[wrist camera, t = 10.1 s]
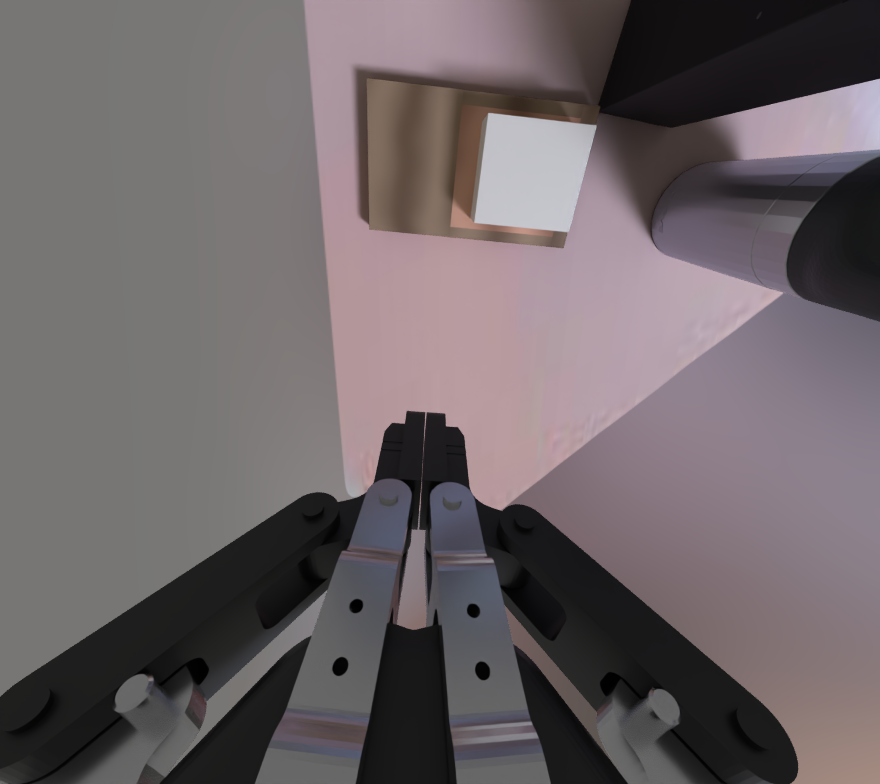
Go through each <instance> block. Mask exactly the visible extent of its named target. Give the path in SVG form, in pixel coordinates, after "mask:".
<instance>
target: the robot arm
mask: <svg viewBox="0 0 880 784" xmlns="http://www.w3.org/2000/svg"><path fill="white" fill-rule="evenodd" d="M651 230H652V238H653V240H654V243H655V245H656V246H657V248H658V249H659V250H660V251H661V252H662V253H664V254H665V255H667V256H670V257H673V258H676V259H679V260H682V261H685V262H688V263H691V264H694V265H697V266H700V267H704V268H707V269H710V270H713V271H716V272H719V273H722V274H726V275H729V276H732V277H735V278H738V279H741V280H744V281H748V282H751V283H754V284H757V285H760V286H763V287H766V288H770V289H773V290H777V291H780V292H783V293H786V294H789V295H792V296H796V297H799V298H802V299H805V300H808V301H812V302H815V303H818V304H821V305H825V306H828V307H832V308H836V309H839V310H842V311H846V312H850V313H853V314H857V315H860V316H863V317H866V318H869V319H873V320H876V321H879V322H880V150H869V151H856V152H846V153H833V154H819V155H806V156H793V157H779V158H766V159H752V160H736V161H723V162H712V163H704V164H701V165H698V166H695V167H693V168H691V169H689V170H688V171H686V172H684V173H683V174H681V175H680V176H679V177H678V178H677V179H675V180H674V181H673V182H672V183H671V184H670V186H669V187H668V188H667V189H666V190H665V192H664V193H663V195H662V196H661V198H660V199H659V202H658V204H657V206H656V208H655V211H654V214H653V218H652V226H651ZM424 427H425V412H414V411H407V413H406V420H405V424H400V423H392V424H391V425H390V426H389V427H388V428H387V429H386V430H385V433H384V438H383V443H382V447H381V452H380V456H379V461H378V466H377V470H376V475H375V480H374V483H373V484H372V485H371V486H370V487H369V489H368V490H367V492H366V493H365V494H363V495H361V496H360V497H357V498H354V499H350V500H346V501H341V502H337V500H336V499H335V498H334V497H333V496H331V495H329V494H326V493H320V492H316V493H310V494H307V495H305V496H302V497H301V498H299V499H297V500H296V501H294V502H293V503H291V504H290V505H288V506H287V507H285V508H284V509H282V510H280V511H279V512H277V513H276V514H275V515H273V516H271V517H270V518H268V519H267V520H265V521H264V522H262V523H261V524H259V525H258V526H256V527H255V528H253V529H251V530H250V531H248V532H247V533H245V534H244V535H242V536H241V537H239V538H238V539H236V540H235V541H233V542H232V543H230V544H228V545H227V546H225V547H224V548H222V549H221V550H219V551H218V552H216V553H215V554H214V555H212V556H210V557H209V558H207V559H206V560H204V561H202V562H201V563H199V564H198V565H196V566H195V567H193V568H192V569H190V570H189V571H187V572H186V573H184V574H183V575H181V576H179V577H178V578H176V579H175V580H173V581H172V582H171V583H169V584H167V585H166V586H164V587H163V588H161V589H160V590H158V591H157V592H155V593H153V594H152V595H150V596H149V597H147V598H146V599H144V600H143V601H141V602H140V603H138V604H137V605H135V606H134V607H132V608H131V609H129V610H127V611H126V612H124V613H123V614H122V615H120V616H118V617H117V618H115V619H114V620H112V621H111V622H109V623H108V624H106V625H105V626H103V627H101V628H100V629H98V630H97V631H95V632H94V633H92V634H91V635H89V636H88V637H86V638H85V639H83V640H82V641H80V642H79V643H77V644H75V645H74V646H72V647H71V648H69V649H68V650H66V651H65V652H63V653H62V654H60V655H59V656H57V657H56V658H54V659H52V660H51V661H49V662H48V663H46V664H45V665H43V666H42V667H40V668H39V669H37V670H36V671H34V672H33V673H31V674H30V675H28V676H26V677H25V678H24V679H22V680H21V681H19V682H18V683H16V684H15V685H14V686H12V687H11V688H10V689H9V690H7V691H6V692H5V693H4V694H3V695H2V696H1V697H0V784H790V783H792V782H793V781H794V780H795V778H796V777H797V773H798V761H797V756H796V753H795V750H794V747H793V745H792V743H791V741H790V738H789V737H788V735H787V733H786V732H785V730H784V728H783V727H782V726H781V724H780V723H779V721H778V720H777V719H776V718H775V716H774V715H773V714H772V713H771V712H770V711H769V710H768V709H767V708H766V707H765V706H764V705H763V704H762V703H761V702H760V701H759V700H758V699H756V698H755V697H754V696H753V695H752V694H751V693H749V692H748V691H747V690H746V689H745V688H744V687H742V686H741V685H740V684H739V683H738V682H737V681H735V680H734V679H733V678H732V677H731V676H730V675H728V674H727V673H726V672H725V671H724V670H722V669H721V668H720V667H719V666H718V665H717V664H715V663H714V662H713V661H712V660H711V659H710V658H708V657H707V656H706V655H705V654H703V652H701V651H700V650H699V649H698V648H697V647H696V646H694V645H693V644H692V643H691V642H690V641H688V640H687V639H686V638H685V637H684V636H683V635H681V634H680V633H679V632H678V631H677V630H676V629H674V628H673V627H672V626H671V625H670V624H668V623H667V622H666V621H665V620H664V619H663V618H662V617H660V616H659V615H658V614H657V613H656V612H654V611H653V610H652V609H651V608H650V607H649V606H647V605H646V604H645V603H644V602H643V601H642V600H640V599H639V598H638V597H637V596H636V595H635V594H633V593H632V592H631V591H630V590H629V589H627V588H626V587H625V586H624V585H623V584H622V583H620V582H619V581H618V580H617V579H616V578H615V577H613V576H612V575H611V574H610V573H609V572H608V571H606V570H605V569H604V568H603V567H602V566H601V565H599V564H598V563H597V562H596V561H595V560H594V559H592V558H591V557H590V556H589V555H588V554H586V553H585V552H584V551H583V550H582V549H581V548H579V547H578V546H577V545H576V544H575V543H573V542H572V541H571V540H570V539H569V538H568V537H567V536H565V535H564V534H563V533H562V532H560V531H559V530H558V529H557V528H556V527H555V526H553V525H552V524H551V523H550V522H549V521H548V520H547V519H545V518H544V517H543V516H542V515H541V514H540V513H538V512H537V511H536V510H534V509H532V508H531V507H528V506H525V505H520V504H519V505H518V504H515V505H511V506H508V507H506V508H505V509H504V510H503V511H500V510H497V509H494V508H491V507H489V506H486V505H484V504H482V503H481V502H479V501H478V500H477V499H476V498H475V497H474V496H473V494H472V492H471V490H470V487H469V478H468V468H467V459H466V449H465V440H464V435H463V434H462V433H461V431H460V430H459V428H458V427H446V418H445V414H444V413H429V412H427V416H426V428H425V440H424ZM423 445H424V453H423ZM422 463H423V470H422ZM421 481H422V489H421ZM420 493H421V508H420V527H419V529H420V530H426V533H425V548H424V560H425V562H424V563H425V586H426V608H427V609H426V612H427V619H426V627H425V628H421V629H417V630H411V629H407V628H405V627H402V626H399V625H397V619H398V610H399V605H400V598H401V592H402V586H403V579H404V574H405V568H406V561H407V555H408V549H409V547H410V543H411V531H412V529H416V530H417V527H418V516H419V505H420ZM326 590H327V593H326V596H325V599H324V602H323V605H322V608H321V611H320V613H319V616H318V619H317V622H316V625H315V628H314V631H313V634H312V636H310V637H308V638H306V639H304V640H303V641H301V642H300V643H298V644H297V645H296V646H294V647H293V648H292V649H290V650H289V651H288V652H287V653H285V654H284V655H283V656H282V657H281V658H280V659H279V660H278V661H277V662H276V664H274V666H272V667H271V668H270V669H269V670H268V672H267V673H266V674H265V675H264V676H263V677H262V678H261V679H260V680H259V681H258V682H257V683H256V684H255V685H254V686H253V687H252V688H251V689H250V690H249V691H248V692H247V693H246V694H245V695H244V696H243V697H242V698H241V699H240V701H238V703H237V704H236V705H235V706H234V707H233V708H232V709H231V710H230V711H229V712H228V713H227V714H226V715H225V716H224V717H223V718H222V719H221V720H220V721H219V722H218V723H217V724H216V726H214V727H213V728H212V730H210V731H209V732H208V734H207V735H206V736H205V737H204V738H203V739H202V740H201V741H200V742H199V743H198V744H197V745H196V746H195V747H194V748H193V749H192V750H191V751H190V752H189V753H188V754H187V755H186V756H185V757H184V758H183V759H182V760H181V761H180V762H179V763H178V765H177V766H176V767H175V768H174V769H173V770H172V771H171V772H170V770H171V768H172V767H173V766H174V764H175V763H176V761H177V760H178V759H179V758H180V756H181V755H182V754H183V753H184V752H185V751H186V750H187V748H188V747H189V746H190V745H191V743H192V742H193V741H194V739H195V737H196V736H197V734H198V732H199V731H200V728H201V726H202V724H203V721H204V718H205V714H206V705H207V703H206V701H207V700H208V699H209V698H211V697H212V696H213V695H214V694H215V693H216V692H217V691H218V690H219V689H220V688H221V687H223V686H224V685H225V684H226V683H227V682H228V681H229V680H230V679H231V678H232V677H233V676H234V675H235V674H236V673H238V672H239V671H240V670H241V669H242V668H243V667H244V666H245V665H246V664H247V663H249V662H250V660H252V659H253V658H254V657H255V656H256V655H257V654H258V653H259V652H260V651H261V650H262V649H264V648H265V647H266V646H267V645H268V644H269V643H270V642H271V641H272V640H273V639H274V638H275V637H277V636H278V635H279V634H280V633H281V632H282V631H283V630H284V629H285V628H286V627H287V626H289V625H290V624H291V623H292V622H293V621H294V620H295V619H296V618H297V617H298V616H299V615H300V614H302V613H303V612H304V611H305V610H306V609H307V608H308V607H309V606H310V605H311V604H312V603H313V602H315V601H316V600H317V599H318V598H319V597H320V596H321V595H322V594H323V593H324V592H325V591H326ZM504 605H505V606H506V607H507V608H508V609H509V611H510V612H511V613H512V614H513V615H514V616H515V618H516V619H517V620H518V621H519V622H520V623H521V624H522V625H523V627H524V628H525V629H526V630H527V631H528V633H529V634H530V635H531V636H532V637H533V638H534V640H535V641H536V642H537V643H538V644H539V645H540V646H541V648H542V649H543V650H544V651H545V652H546V653H547V655H548V656H549V657H550V658H551V659H552V660H553V662H554V663H555V664H556V665H557V666H558V667H559V669H560V670H561V671H562V672H563V673H564V674H565V676H566V677H567V678H568V679H569V680H570V681H571V683H572V684H573V685H574V686H575V687H576V688H577V690H578V691H579V692H580V693H581V694H582V695H583V697H584V698H585V699H586V700H587V701H588V702H589V703H590V705H591V706H592V707H593V708H594V709H595V710H596V712H597V718H596V719H597V728H598V733H599V736H600V739H601V742H602V744H603V746H604V748H605V750H606V752H607V754H608V755H609V757H610V758H611V760H612V761H613V763H614V764H615V766H616V767H617V768H616V767H615V766H614V765H613V764H612V762H611V761H610V759H609V758H608V757H607V756H606V754H605V753H604V752H603V750H602V749H601V748H600V746H599V745H598V744H597V743H596V741H595V740H594V739H593V738H592V736H591V735H590V734H589V732H588V731H587V730H586V728H585V727H584V726H583V725H582V723H581V722H580V721H579V719H578V718H577V717H576V716H575V714H574V713H573V712H572V710H571V709H570V708H569V707H568V705H567V704H566V703H565V701H564V700H563V699H562V698H561V696H560V695H559V694H558V692H557V691H556V690H555V688H554V687H553V686H552V685H551V684H550V682H549V681H548V679H547V678H546V677H545V676H544V674H543V673H542V672H541V670H540V669H539V668H538V667H537V666H536V664H535V663H534V662H533V661H532V660H531V659H530V658H529V657H528V656H527V655H526V654H525V653H524V652H523V651H522V650H520V649H519V648H518V647H517V646H515V645H514V644H513V641H512V637H511V633H510V629H509V624H508V619H507V615H506V611H505V606H504ZM617 769H618V770H617ZM169 772H170V773H169Z"/></svg>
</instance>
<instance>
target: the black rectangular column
mask: <svg viewBox="0 0 880 784" xmlns="http://www.w3.org/2000/svg"><path fill="white" fill-rule="evenodd" d="M876 79H880V0H631V3H630V7H629V10H628V13H627V16H626V19H625V23H624V26H623V29H622V32H621V35H620V39H619V42H618V45H617V48H616V51H615V54H614V58H613V61H612V64H611V67H610V70H609V74H608V77H607V80H606V83H605V86H604V89H603V93H602V96H601V99H600V102H599V105H598V106H601V107H600V110H599V112H601V113H605V114H610V115H614V116H619V117H623V118H628V119H633V120H637V121H642V122H646V123H651V124H656V125H660V126H665V127H670V128H673V127H677V126H681V125H685V124H689V123H694V122H698V121H702V120H706V119H711V118H715V117H719V116H723V115H728V114H732V113H736V112H740V111H744V110H749V109H753V108H757V107H761V106H766V105H770V104H774V103H778V102H783V101H787V100H791V99H795V98H800V97H804V96H808V95H812V94H816V93H821V92H825V91H829V90H833V89H838V88H842V87H846V86H850V85H855V84H859V83H863V82H867V81H872V80H876Z"/></svg>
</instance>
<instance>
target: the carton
mask: <svg viewBox="0 0 880 784" xmlns="http://www.w3.org/2000/svg"><path fill="white" fill-rule="evenodd" d="M596 127H597V125H588V124H579V123H571V122H562V121H554V120H545V119H537V118H528V117H519V116H511V115H502V114H494V113H488V114H487V116H486V117H485V118H484V120H483V121H482V127H481V135H480V144H479V152H478V160H477V168H476V176H475V185H474V193H473V201H472V209H471V217H470V219H471V220H472V221H473V222H474V223H481V224H491V225H501V226H511V227H521V228H531V229H541V230H551V231H561V232H569V230H570V226H571V222H572V218H573V214H574V211H575V207H576V203H577V199H578V195H579V192H580V188H581V184H582V180H583V176H584V173H585V169H586V165H587V161H588V157H589V154H590V150H591V146H592V142H593V138H594V135H595V131H596Z"/></svg>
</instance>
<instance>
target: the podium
mask: <svg viewBox="0 0 880 784" xmlns="http://www.w3.org/2000/svg"><path fill="white" fill-rule="evenodd" d="M600 107H601V106H595V105H587V104H578V103H570V102H562V101H553V100H545V99H537V98H528V97H520V96H512V95H503V94H495V93H487V92H478V91H470V90H461V89H453V88H445V87H436V86H428V85H420V84H411V83H403V82H395V81H386V80H378V79H370V78H367V125H368V181H369V229H371V230H381V231H392V232H402V233H412V234H422V235H433V236H443V237H453V238H464V239H474V240H484V241H495V242H505V243H515V244H526V245H536V246H546V247H556V248H564V244H565V240H566V237H567V233H568V232H561V231H551V230H541V229H531V228H521V227H511V226H501V225H491V224H481V223H474V222H473V221H472V220H471V219H470V217H471V209H472V201H473V193H474V185H475V176H476V168H477V160H478V152H479V144H480V135H481V127H482V121H483V120H484V118H485V117H486V116H487V114H488V113H494V114H502V115H511V116H519V117H528V118H537V119H545V120H554V121H562V122H571V123H579V124H588V125H596V122H597V118H598V114H599V110H600Z"/></svg>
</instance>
